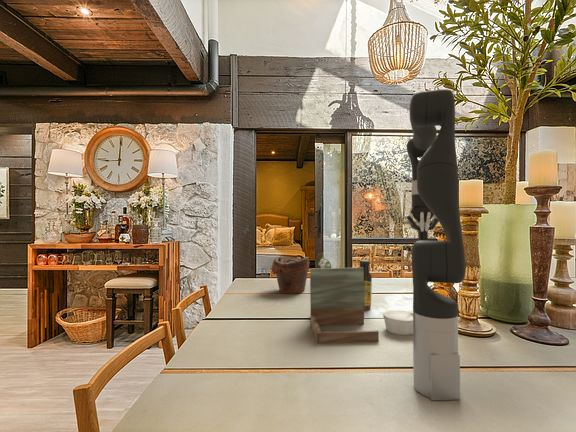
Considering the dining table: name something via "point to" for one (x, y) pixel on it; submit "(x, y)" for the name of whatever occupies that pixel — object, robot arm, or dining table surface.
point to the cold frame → (338, 304)
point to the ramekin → (399, 322)
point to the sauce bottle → (367, 284)
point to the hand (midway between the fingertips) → (423, 241)
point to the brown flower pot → (291, 274)
